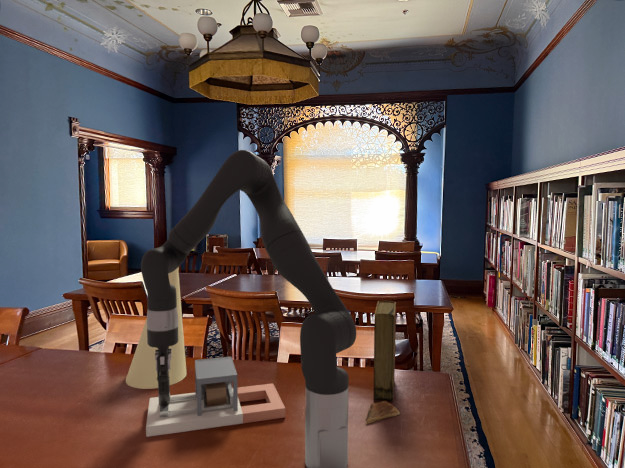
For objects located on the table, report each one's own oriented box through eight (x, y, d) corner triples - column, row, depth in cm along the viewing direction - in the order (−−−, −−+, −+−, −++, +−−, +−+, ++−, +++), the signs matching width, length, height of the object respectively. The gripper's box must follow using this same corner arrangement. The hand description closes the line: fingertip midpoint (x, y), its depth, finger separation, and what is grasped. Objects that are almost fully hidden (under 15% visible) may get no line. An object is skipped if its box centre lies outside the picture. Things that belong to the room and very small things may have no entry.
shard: (365, 426, 114) (365, 419, 114) (350, 413, 121) (350, 406, 121) (400, 417, 119) (400, 410, 119) (383, 405, 126) (383, 398, 126)
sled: (234, 407, 117) (233, 376, 116) (158, 417, 112) (157, 384, 111) (230, 392, 126) (230, 364, 125) (159, 401, 120) (158, 371, 120)
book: (376, 378, 143) (378, 300, 141) (394, 379, 142) (395, 301, 140) (373, 401, 127) (374, 313, 125) (393, 403, 126) (394, 314, 124)
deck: (285, 417, 118) (285, 408, 117) (146, 436, 108) (145, 426, 108) (273, 391, 133) (272, 383, 133) (150, 406, 123) (149, 397, 123)
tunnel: (237, 410, 116) (237, 374, 115) (197, 416, 113) (196, 379, 112) (231, 388, 129) (231, 356, 128) (195, 393, 126) (194, 360, 125)
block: (226, 405, 119) (226, 387, 118) (206, 408, 117) (206, 389, 117) (224, 397, 123) (224, 379, 123) (205, 399, 122) (205, 382, 121)
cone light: (171, 390, 134) (168, 273, 130) (113, 386, 136) (109, 271, 133) (202, 360, 158) (200, 260, 155) (152, 357, 160) (149, 259, 157)
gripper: (178, 332, 109) (179, 397, 111) (178, 316, 123) (179, 374, 124) (144, 335, 107) (146, 401, 108) (148, 318, 121) (150, 377, 122)
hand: (164, 387), depth 116 cm, fingers open, 8 cm apart
